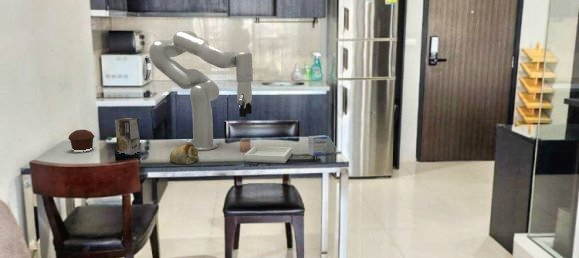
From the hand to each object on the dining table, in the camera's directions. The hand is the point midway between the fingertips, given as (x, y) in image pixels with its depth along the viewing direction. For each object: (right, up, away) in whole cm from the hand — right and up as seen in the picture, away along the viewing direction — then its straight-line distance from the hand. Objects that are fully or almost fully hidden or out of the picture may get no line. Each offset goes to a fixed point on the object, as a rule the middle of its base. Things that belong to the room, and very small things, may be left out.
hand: (245, 115), depth 238 cm
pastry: (-26, -21, -16) cm, 37 cm away
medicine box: (+34, -19, -4) cm, 39 cm away
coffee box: (-55, -18, 0) cm, 58 cm away
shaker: (0, -17, +3) cm, 17 cm away
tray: (+11, -19, -10) cm, 25 cm away
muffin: (-79, -17, +4) cm, 81 cm away
